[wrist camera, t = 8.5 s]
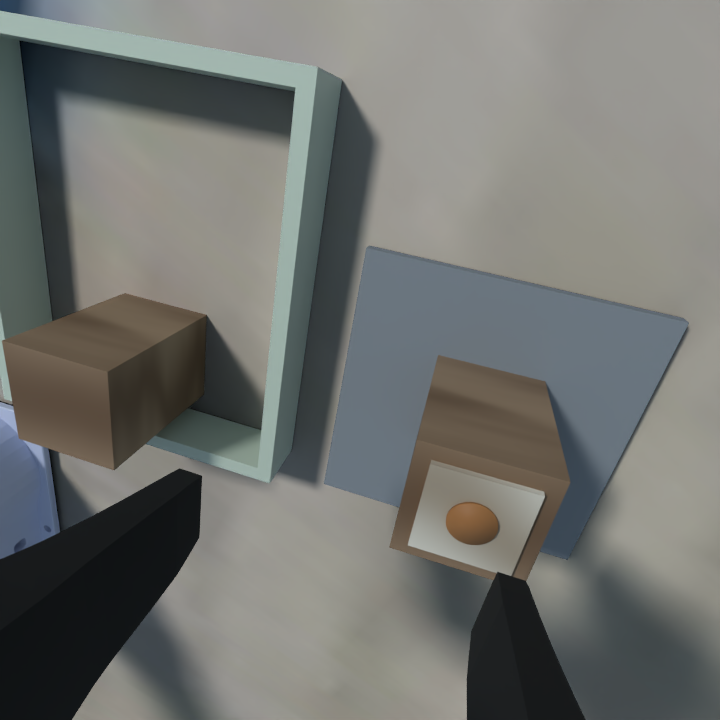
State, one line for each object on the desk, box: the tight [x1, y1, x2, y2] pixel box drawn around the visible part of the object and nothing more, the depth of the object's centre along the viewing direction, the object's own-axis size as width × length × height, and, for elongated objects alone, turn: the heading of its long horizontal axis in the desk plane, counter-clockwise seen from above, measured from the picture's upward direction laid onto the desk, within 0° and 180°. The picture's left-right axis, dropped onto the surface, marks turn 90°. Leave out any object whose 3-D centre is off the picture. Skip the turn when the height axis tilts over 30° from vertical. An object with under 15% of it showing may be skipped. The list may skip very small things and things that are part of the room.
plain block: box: [2, 293, 207, 470], centre depth 19 cm, size 4×4×6 cm
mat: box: [324, 246, 689, 560], centre depth 19 cm, size 11×11×1 cm
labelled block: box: [390, 355, 571, 581], centre depth 16 cm, size 4×4×6 cm
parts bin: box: [0, 11, 342, 483], centre depth 19 cm, size 15×13×2 cm
